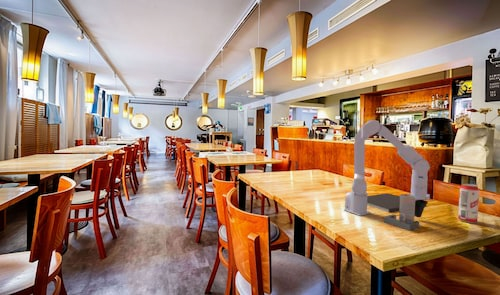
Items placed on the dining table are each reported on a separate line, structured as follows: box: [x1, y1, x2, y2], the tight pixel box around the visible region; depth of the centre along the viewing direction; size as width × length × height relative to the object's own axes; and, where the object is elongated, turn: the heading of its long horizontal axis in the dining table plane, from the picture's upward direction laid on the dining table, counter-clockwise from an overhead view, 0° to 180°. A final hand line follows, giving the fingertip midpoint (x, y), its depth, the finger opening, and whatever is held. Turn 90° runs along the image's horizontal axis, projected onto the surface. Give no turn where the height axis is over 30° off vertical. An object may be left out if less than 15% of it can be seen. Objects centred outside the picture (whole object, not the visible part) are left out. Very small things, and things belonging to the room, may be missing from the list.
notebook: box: [367, 192, 401, 213], centre depth 133 cm, size 22×2×28 cm
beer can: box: [457, 183, 480, 224], centre depth 106 cm, size 6×6×16 cm
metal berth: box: [383, 213, 420, 232], centre depth 101 cm, size 10×7×2 cm, turn 29°
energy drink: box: [398, 193, 415, 223], centre depth 102 cm, size 5×5×12 cm
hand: (417, 216), depth 107 cm, fingers closed
